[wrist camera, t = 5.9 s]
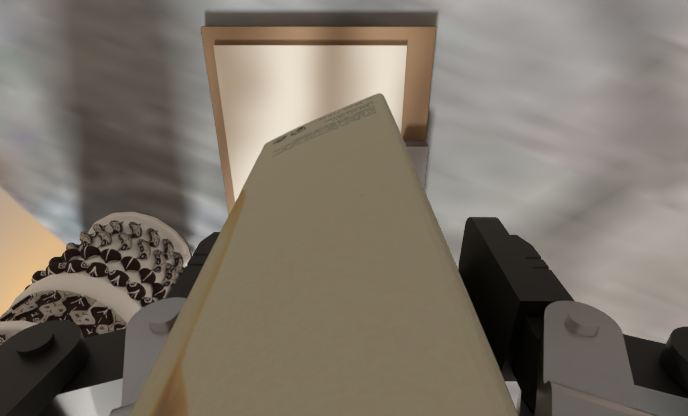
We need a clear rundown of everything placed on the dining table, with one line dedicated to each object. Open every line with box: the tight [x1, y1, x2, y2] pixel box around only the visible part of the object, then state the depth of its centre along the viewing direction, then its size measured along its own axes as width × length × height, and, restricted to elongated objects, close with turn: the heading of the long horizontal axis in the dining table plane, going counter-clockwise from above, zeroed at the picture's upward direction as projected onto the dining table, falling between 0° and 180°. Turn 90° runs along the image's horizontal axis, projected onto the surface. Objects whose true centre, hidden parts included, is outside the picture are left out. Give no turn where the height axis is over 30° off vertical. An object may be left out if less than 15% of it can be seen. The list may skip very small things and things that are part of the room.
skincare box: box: [129, 93, 518, 416], centre depth 9 cm, size 6×4×12 cm
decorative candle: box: [0, 211, 191, 345], centre depth 21 cm, size 9×9×25 cm
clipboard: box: [201, 26, 436, 214], centre depth 28 cm, size 14×20×2 cm
